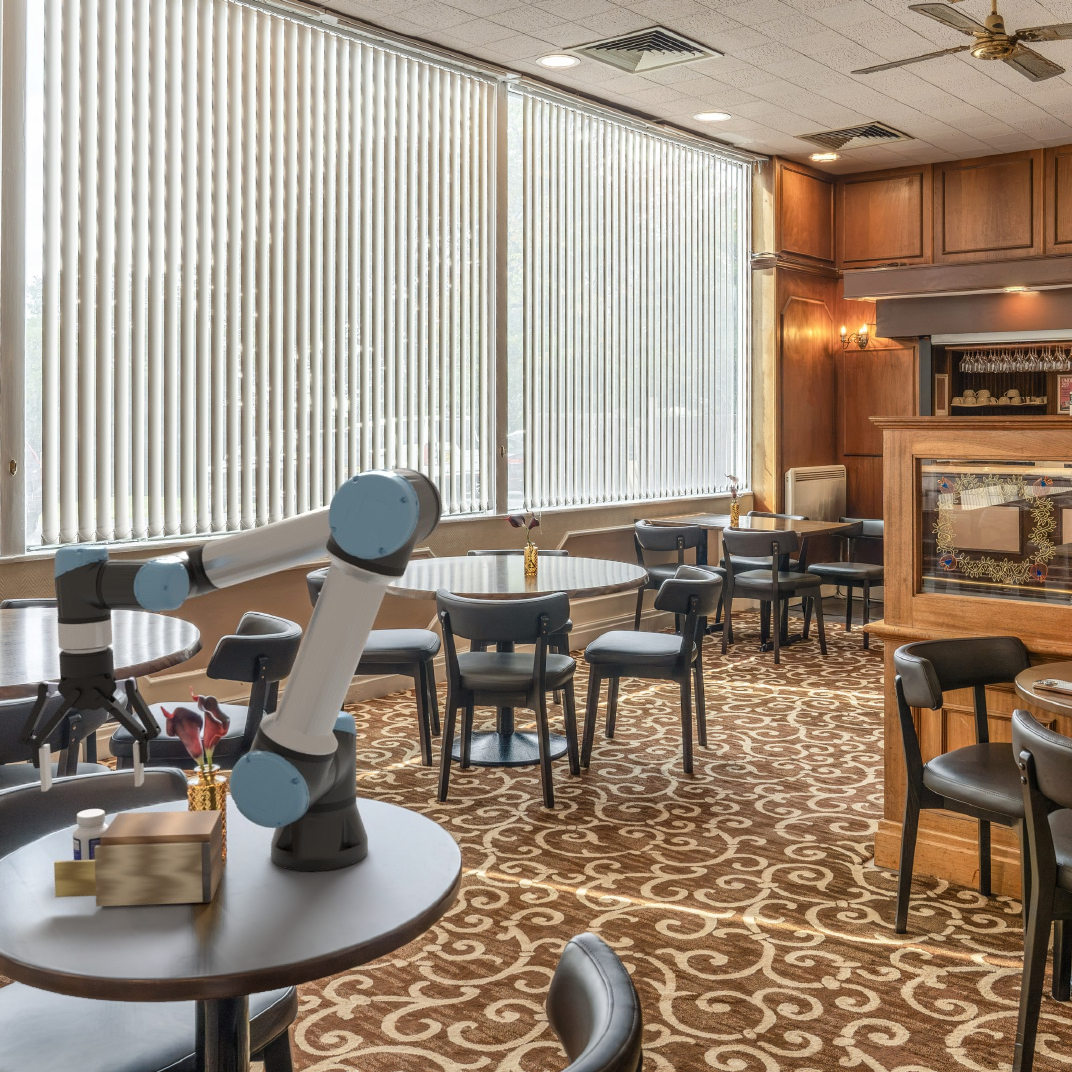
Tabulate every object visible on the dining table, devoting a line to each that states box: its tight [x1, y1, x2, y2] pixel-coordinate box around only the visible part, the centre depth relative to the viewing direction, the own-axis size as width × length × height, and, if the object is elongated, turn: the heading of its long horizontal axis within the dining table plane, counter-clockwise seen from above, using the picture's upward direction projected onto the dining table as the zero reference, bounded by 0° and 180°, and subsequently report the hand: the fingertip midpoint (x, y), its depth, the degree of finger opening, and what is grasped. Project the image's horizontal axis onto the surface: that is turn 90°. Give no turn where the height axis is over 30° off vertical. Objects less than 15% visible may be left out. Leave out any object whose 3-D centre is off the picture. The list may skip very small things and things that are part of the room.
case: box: [100, 809, 224, 903], centre depth 164 cm, size 15×10×10 cm
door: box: [53, 841, 212, 907], centre depth 158 cm, size 21×1×8 cm, turn 97°
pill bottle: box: [72, 808, 109, 860], centre depth 171 cm, size 5×5×9 cm
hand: (93, 786), depth 170 cm, fingers open, 13 cm apart
